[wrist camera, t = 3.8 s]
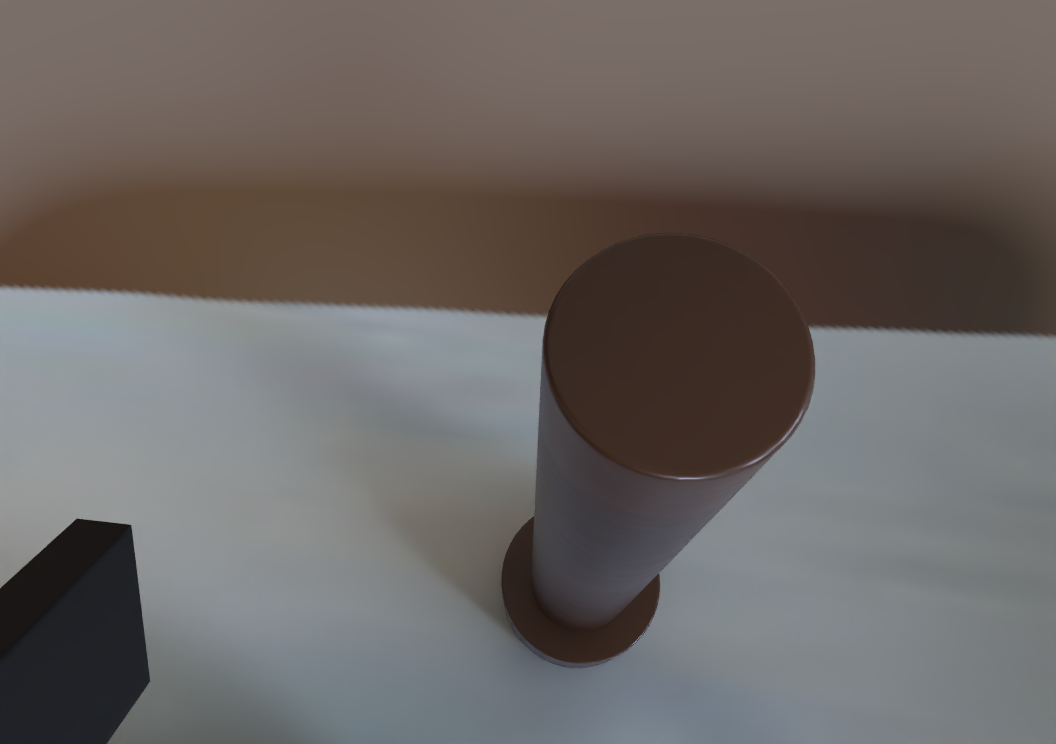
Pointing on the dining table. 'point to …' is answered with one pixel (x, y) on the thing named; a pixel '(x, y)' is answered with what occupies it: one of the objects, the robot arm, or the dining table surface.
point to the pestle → (647, 430)
